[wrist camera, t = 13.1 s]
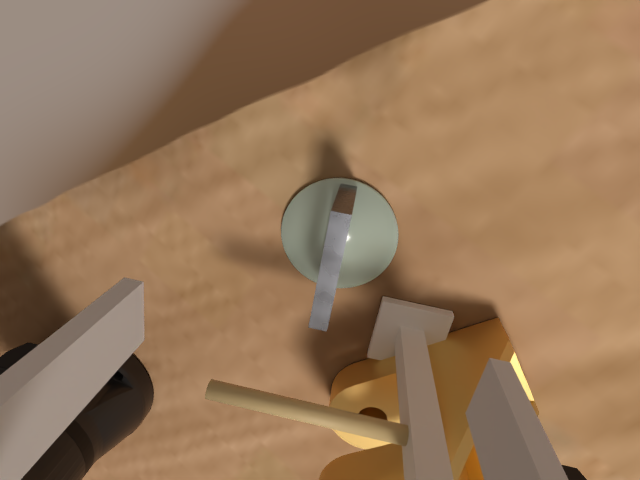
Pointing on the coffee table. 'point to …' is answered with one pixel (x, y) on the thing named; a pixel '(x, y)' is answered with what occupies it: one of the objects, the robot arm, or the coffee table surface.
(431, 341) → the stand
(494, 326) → the clamp
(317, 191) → the coaster
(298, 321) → the coffee table surface
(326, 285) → the link
